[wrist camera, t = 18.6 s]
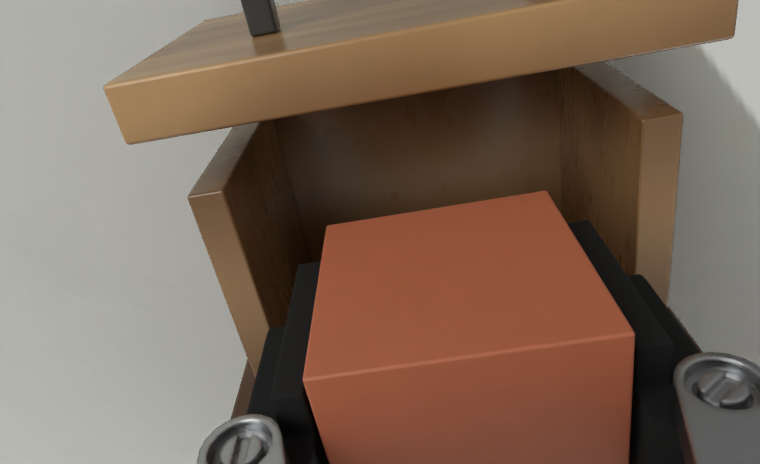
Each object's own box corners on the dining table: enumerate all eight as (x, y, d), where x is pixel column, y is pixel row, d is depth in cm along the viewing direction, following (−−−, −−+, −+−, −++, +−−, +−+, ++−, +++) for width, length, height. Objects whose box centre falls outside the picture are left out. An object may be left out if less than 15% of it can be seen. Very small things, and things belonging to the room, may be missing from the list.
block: (325, 224, 12) (300, 379, 8) (547, 189, 11) (637, 333, 8) (366, 386, 14) (363, 571, 10) (553, 360, 14) (626, 542, 10)
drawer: (129, -220, 14) (-71, -328, 8) (599, -327, 13) (804, -546, 7) (310, 365, 23) (286, 535, 17) (595, 325, 23) (682, 488, 16)
